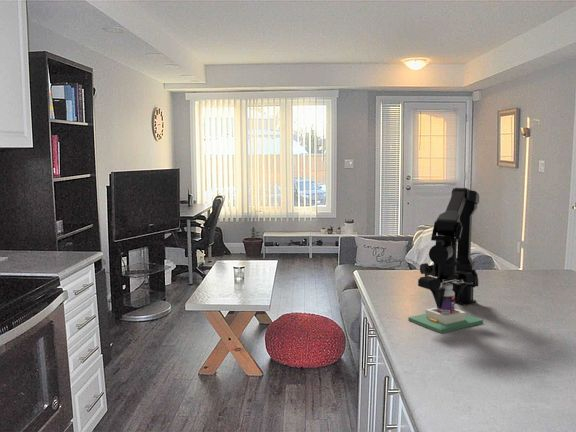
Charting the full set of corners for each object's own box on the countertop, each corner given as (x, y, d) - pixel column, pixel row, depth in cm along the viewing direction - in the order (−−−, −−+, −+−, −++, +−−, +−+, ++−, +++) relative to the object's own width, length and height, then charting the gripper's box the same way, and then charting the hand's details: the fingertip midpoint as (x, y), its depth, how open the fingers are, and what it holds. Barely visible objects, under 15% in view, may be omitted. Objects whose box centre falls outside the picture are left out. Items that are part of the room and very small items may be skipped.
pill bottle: (455, 317, 168) (455, 286, 167) (437, 316, 169) (437, 286, 168) (453, 312, 173) (454, 282, 172) (436, 311, 174) (436, 281, 173)
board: (449, 311, 182) (449, 301, 181) (482, 323, 170) (483, 312, 169) (408, 320, 173) (408, 309, 173) (440, 333, 161) (440, 321, 161)
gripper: (449, 250, 180) (448, 296, 182) (406, 256, 171) (405, 304, 173) (475, 256, 171) (474, 304, 173) (431, 263, 162) (430, 313, 164)
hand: (445, 306), depth 171 cm, fingers closed on pill bottle, 5 cm apart
